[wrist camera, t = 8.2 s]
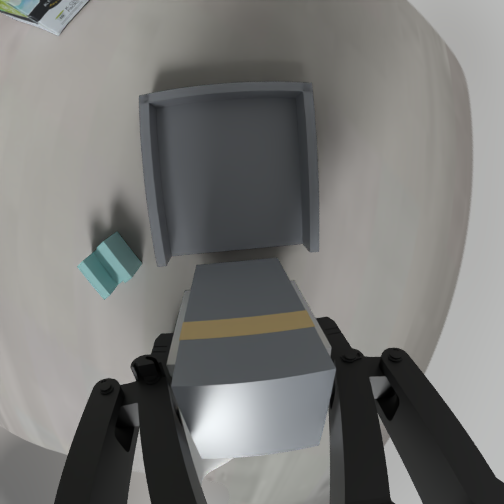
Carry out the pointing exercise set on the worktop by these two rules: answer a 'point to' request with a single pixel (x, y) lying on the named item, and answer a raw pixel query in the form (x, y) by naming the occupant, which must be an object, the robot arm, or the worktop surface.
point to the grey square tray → (230, 167)
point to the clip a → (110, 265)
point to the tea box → (43, 12)
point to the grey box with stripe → (250, 363)
